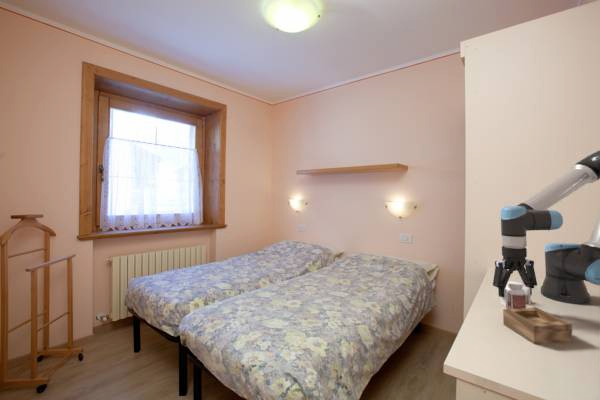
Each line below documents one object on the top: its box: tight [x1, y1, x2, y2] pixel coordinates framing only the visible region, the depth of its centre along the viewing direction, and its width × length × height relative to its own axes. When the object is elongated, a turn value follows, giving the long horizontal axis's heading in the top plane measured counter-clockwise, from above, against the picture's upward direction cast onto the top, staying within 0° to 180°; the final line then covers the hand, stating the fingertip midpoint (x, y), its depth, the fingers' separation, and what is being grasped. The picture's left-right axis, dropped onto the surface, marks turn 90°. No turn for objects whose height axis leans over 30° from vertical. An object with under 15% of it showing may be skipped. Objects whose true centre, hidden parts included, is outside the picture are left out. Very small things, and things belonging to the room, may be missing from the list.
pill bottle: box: [505, 280, 527, 309], centre depth 103 cm, size 6×6×11 cm
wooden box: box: [502, 307, 573, 345], centre depth 88 cm, size 12×12×6 cm
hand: (515, 304), depth 103 cm, fingers open, 8 cm apart
